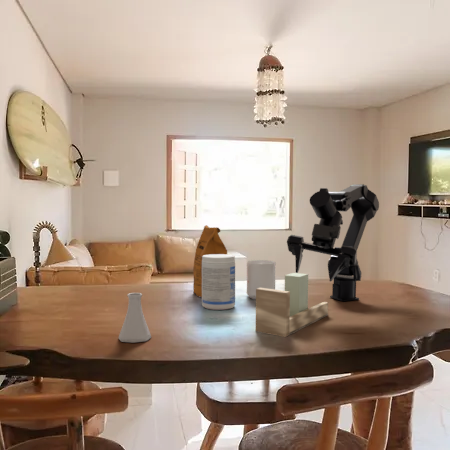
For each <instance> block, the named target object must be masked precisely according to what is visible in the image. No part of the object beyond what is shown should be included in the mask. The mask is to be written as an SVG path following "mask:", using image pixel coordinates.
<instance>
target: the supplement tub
mask: <svg viewBox="0 0 450 450" xmlns="http://www.w3.org/2000/svg"><path fill="white" fill-rule="evenodd" d="M201 305H202V307H203V308H205V309H207V310H212V311H219V310H220V311H222V310H230V309H232V308H234V307H235V306H236V258H235V255H234V254H228V253H227V254H208V255H203V256H202V298H201Z"/></svg>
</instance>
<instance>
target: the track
mask: <svg viewBox="0 0 450 450" xmlns="http://www.w3.org/2000/svg"><path fill="white" fill-rule="evenodd" d="M328 316H329V302H327V301H323V302H320V303H317V304H316V305H313V306H311V307H309V308H308V309H306V310H304V311H302V312H300V313H297V314H295V315H293V316H291V317H290V292H289V291H285V290H282V289H276V288H275V289H267V288H257V289H256V299H255V332H259V333H261V334H262V333H263V334H268V335H269V334H270V335H272V336H273V335H274V336H277V337H283V338H286V337H288V336H290V335H291V334H294V333H296V332H298V331H300V330H302V329H304V328H306V327H308V326H310V325H311V324H312V325H313V323H315V322H318V321H319V320H322V319H323V318H325V317H328Z"/></svg>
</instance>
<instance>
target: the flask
mask: <svg viewBox="0 0 450 450" xmlns="http://www.w3.org/2000/svg"><path fill="white" fill-rule="evenodd" d="M126 296H127V297H128V306H127V311H126V315H125V318H124V320H123V324H122V327H121V329H120V332H119V335H118V340H119V341H120V342H123V343H132V344H134V343H141V342H148V341H149V340H150V339H151V338H152V335H151V332H150V328H149V327H148V324H147V321H146V319H145V316H144V312H143V306H142V296H143V294H142V293H141V292H130V293H127V295H126Z"/></svg>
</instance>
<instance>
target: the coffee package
mask: <svg viewBox="0 0 450 450" xmlns="http://www.w3.org/2000/svg"><path fill="white" fill-rule="evenodd" d="M219 233H221V228H219V227H209V226H208V225H204V226H203V229H202V232H201V234H200V236H199V237H200V238H199V239H198V242H197V245H196V248H195V252H194V253H195V254H194V260H193V269H192V271H193V284H192V285H193V294H195V295H196V296H197V297H198V298H201V299H202V256H203V255H208V254H228V249H227V247H226V246H225V244H224V242H223V240H222V238H221V237H220V234H219Z"/></svg>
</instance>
